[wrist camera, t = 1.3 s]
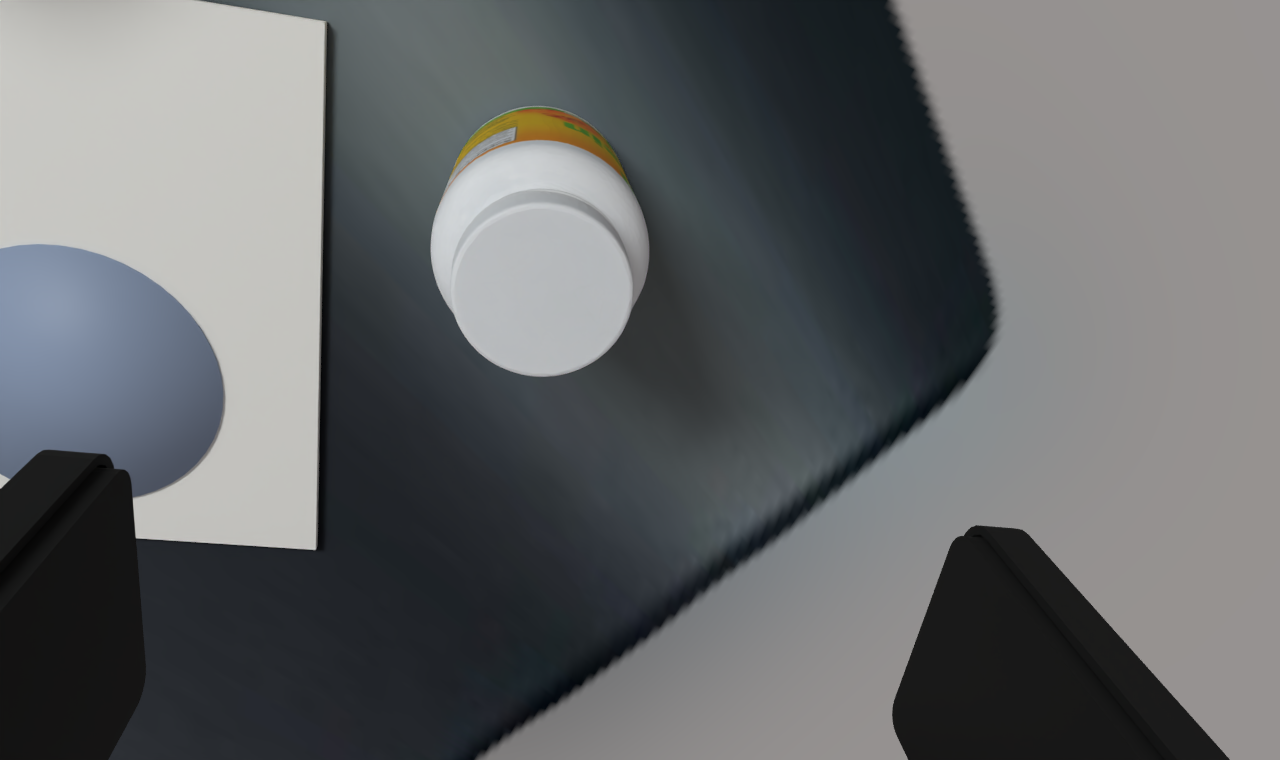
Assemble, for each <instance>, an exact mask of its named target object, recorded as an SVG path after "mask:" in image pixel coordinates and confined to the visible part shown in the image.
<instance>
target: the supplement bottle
mask: <svg viewBox="0 0 1280 760" xmlns="http://www.w3.org/2000/svg"><path fill="white" fill-rule="evenodd" d="M431 261H432V267H433V272H434V275H435V279H436V282H437V285H438V288H439V290H440V292H441V294H442V296H443V298H444V300H445V301H446V303H447V305H448V306H449V308H450V309H451V311H452V312H453V313H454V316H455V318H456V321H457V323H458V325H459V327H460V329H461V331H462V332H463V334H464V336H465V337H466V338H467V340H468V341H469V342H470V344H471V345H472V346H473V347H474V348H475V349H476V350H477V351H478V352H479V353H480V354H481V355H483V356H484V357H485V358H486V359H488V360H489V361H491V362H492V363H494V364H496V365H497V366H499V367H501V368H504V369H506V370H509V371H512V372H515V373H518V374H522V375H528V376H536V377H547V376H557V375H562V374H567V373H570V372H573V371H576V370H579V369H581V368H583V367H585V366H587V365H589V364H591V363H593V362H594V361H596V360H597V359H599V358H600V357H601V356H602V355H603V354H605V353H606V352H607V351H608V350H609V349H610V348H611V347H612V346H613V344H614V343H615V342H616V341H617V339H618V338H619V336H620V335H621V333H622V332H623V330H624V328H625V326H626V324H627V321H628V319H629V316H630V313H631V309H632V308H633V306H634V304H635V303H636V301H637V299H638V297H639V295H640V293H641V291H642V288H643V286H644V283H645V280H646V275H647V271H648V264H649V238H648V231H647V227H646V223H645V219H644V216H643V213H642V210H641V208H640V205H639V203H638V201H637V198H636V196H635V194H634V192H633V190H632V188H631V186H630V184H629V182H628V180H627V177H626V175H625V173H624V170H623V168H622V166H621V163H620V161H619V159H618V157H617V155H616V153H615V152H614V150H613V149H612V147H611V145H610V144H609V143H608V141H607V140H606V139H605V137H604V136H603V135H602V134H601V133H600V132H599V131H598V130H597V129H596V128H595V127H594V126H592V125H591V124H590V123H588V122H587V121H585V120H584V119H582V118H580V117H579V116H577V115H575V114H573V113H570V112H568V111H565V110H562V109H558V108H554V107H548V106H528V107H521V108H517V109H513V110H510V111H507V112H505V113H502V114H500V115H498V116H496V117H495V118H493V119H491V120H490V121H488V122H487V123H485V124H484V125H483V126H481V127H480V128H479V129H478V130H477V131H476V132H475V133H474V134H473V135H472V136H471V138H470V139H469V140H468V142H467V143H466V145H465V146H464V148H463V149H462V151H461V153H460V155H459V157H458V159H457V161H456V163H455V166H454V169H453V171H452V173H451V176H450V178H449V181H448V184H447V186H446V189H445V192H444V194H443V197H442V199H441V202H440V204H439V207H438V209H437V212H436V215H435V219H434V223H433V228H432V236H431Z"/></svg>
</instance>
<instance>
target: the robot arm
mask: <svg viewBox="0 0 1280 760" xmlns="http://www.w3.org/2000/svg"><path fill="white" fill-rule="evenodd" d="M145 676H146V663H145V651H144V638H143V625H142V612H141V599H140V586H139V573H138V560H137V547H136V534H135V521H134V509H133V496H132V484H131V478H130V475H129V473H128V472H127V471H126V470H124V469H114V465H113V462H112V460H111V458H110V457H109V456H107V455H106V454H98V453H86V452H74V451H62V450H42V451H41V452H39V453H38V454H36V455H35V456H34V457H33V458H32V459H31V460H30V461H29V462H28V463H27V464H26V465H25V466H24V467H23V468H22V469H21V470H19V471H18V472H17V473H16V474H15V475H14V476H13V477H12V478H11V479H10V480H9V481H8V482H7V483H6V484H5V485H4V486H3V487H2V488H1V489H0V760H108V759H109V757H110V755H111V753H112V751H113V750H114V748H115V746H116V744H117V742H118V740H119V738H120V737H121V735H122V733H123V731H124V729H125V727H126V726H127V724H128V722H129V720H130V718H131V716H132V715H133V713H134V711H135V709H136V707H137V705H138V703H139V701H140V698H141V695H142V692H143V687H144V683H145ZM892 716H893V725H894V729H895V732H896V735H897V737H898V739H899V741H900V743H901V745H902V747H903V749H904V751H905V754H906V756H907V758H908V760H1229V758H1228V757H1227V756H1226V755H1225V754H1224V753H1223V752H1222V750H1221V749H1220V748H1219V747H1218V746H1217V745H1216V744H1215V743H1214V741H1213V740H1212V739H1211V738H1210V737H1209V736H1208V735H1207V734H1206V732H1205V731H1204V730H1203V729H1202V728H1201V727H1200V726H1199V725H1198V724H1197V723H1196V721H1195V720H1194V719H1193V718H1192V717H1191V716H1190V715H1189V713H1187V711H1186V710H1185V709H1184V708H1183V707H1182V706H1181V705H1180V703H1179V702H1178V701H1177V700H1176V699H1175V698H1174V697H1173V696H1172V694H1171V693H1170V692H1169V691H1168V690H1167V689H1166V688H1165V687H1164V686H1163V684H1162V683H1161V682H1160V681H1159V680H1158V679H1157V678H1156V677H1155V676H1154V674H1153V673H1152V672H1151V671H1150V670H1149V669H1148V668H1147V667H1146V665H1145V664H1144V663H1143V662H1142V661H1141V660H1140V659H1139V658H1138V657H1137V655H1136V654H1135V653H1134V652H1133V651H1132V650H1131V649H1130V648H1129V646H1127V644H1126V643H1125V642H1124V641H1123V640H1122V639H1121V638H1120V637H1119V635H1118V634H1117V633H1116V632H1115V631H1114V630H1113V629H1112V627H1111V626H1110V625H1109V624H1108V623H1107V622H1106V621H1105V620H1104V619H1103V617H1102V616H1101V615H1100V614H1099V613H1098V612H1097V611H1096V610H1095V609H1094V607H1093V606H1092V605H1091V604H1090V603H1089V602H1088V601H1087V600H1086V599H1085V597H1084V596H1083V595H1082V594H1081V593H1080V592H1079V591H1078V590H1077V588H1076V587H1075V586H1074V585H1073V584H1072V583H1071V582H1070V581H1069V579H1068V578H1067V577H1066V576H1065V575H1064V574H1063V573H1062V572H1061V571H1060V570H1059V568H1058V567H1057V566H1056V565H1055V564H1054V563H1053V562H1052V561H1051V559H1050V558H1049V557H1048V556H1047V555H1046V554H1045V553H1044V551H1043V550H1042V549H1041V548H1040V547H1039V546H1038V545H1037V544H1036V543H1035V542H1034V540H1033V539H1032V538H1031V537H1030V536H1029V535H1028V534H1027V533H1026V532H1024V531H1023V530H1020V529H1014V528H1002V527H989V526H977V525H976V526H974V527H971V528H970V529H969V530H968V531H967V532H966V533H965V535H964V536H960V537H957V538H956V539H955V540H954V541H953V542H952V544H951V546H950V549H949V552H948V554H947V557H946V560H945V563H944V565H943V568H942V571H941V574H940V577H939V579H938V582H937V585H936V587H935V590H934V593H933V595H932V598H931V601H930V604H929V607H928V609H927V612H926V615H925V617H924V620H923V623H922V626H921V628H920V631H919V634H918V637H917V640H916V642H915V645H914V648H913V650H912V653H911V656H910V659H909V661H908V664H907V667H906V670H905V672H904V675H903V678H902V681H901V683H900V686H899V689H898V692H897V694H896V697H895V700H894V704H893V713H892Z"/></svg>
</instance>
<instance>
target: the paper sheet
mask: <svg viewBox="0 0 1280 760" xmlns="http://www.w3.org/2000/svg"><path fill="white" fill-rule="evenodd" d="M326 51H327V21H321V20H315V19H309V18H303V17H297V16H291V15H285V14H279V13H273V12H266V11H260V10H254V9H248V8H242V7H236V6H230V5H224V4H218V3H212V2H206V1H200V0H0V489H1V488H2V487H3V486H4V485H5V484H6V483H7V482H8V481H9V480H10V479H11V478H12V477H13V476H14V475H15V474H16V473H17V472H18V471H19V470H21V469H22V468H23V467H24V466H25V465H26V464H27V463H28V462H29V461H30V460H31V459H32V458H33V457H34V456H35V455H36V454H38V453H39V452H41V451H42V450H62V451H74V452H86V453H98V454H106V455H107V456H109V457H110V458H111V460H112V462H113V465H114V469H124V470H126V471H127V472H128V473H129V475H130V478H131V484H132V496H133V509H134V521H135V534H136V538H141V539H156V540H171V541H187V542H202V543H217V544H233V545H248V546H263V547H279V548H294V549H309V550H316V548H317V545H318V494H319V439H320V383H321V328H322V272H323V217H324V162H325V106H326Z"/></svg>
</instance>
